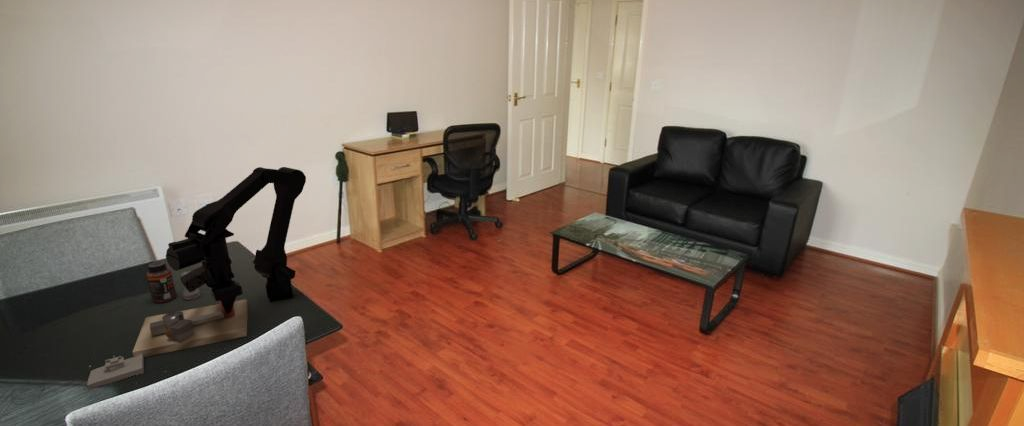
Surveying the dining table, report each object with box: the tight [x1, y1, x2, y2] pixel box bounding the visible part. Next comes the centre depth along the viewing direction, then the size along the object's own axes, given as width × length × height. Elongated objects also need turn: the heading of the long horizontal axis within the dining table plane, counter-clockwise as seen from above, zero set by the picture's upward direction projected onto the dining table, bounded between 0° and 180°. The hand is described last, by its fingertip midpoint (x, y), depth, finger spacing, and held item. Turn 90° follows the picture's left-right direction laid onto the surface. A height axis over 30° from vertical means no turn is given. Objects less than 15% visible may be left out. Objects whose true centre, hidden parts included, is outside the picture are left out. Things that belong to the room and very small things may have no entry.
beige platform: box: [86, 354, 145, 390], centre depth 113 cm, size 12×11×4 cm
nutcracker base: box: [132, 299, 249, 358], centre depth 129 cm, size 24×17×6 cm
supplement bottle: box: [146, 260, 177, 304], centre depth 143 cm, size 6×6×11 cm
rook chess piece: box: [180, 270, 201, 301], centre depth 145 cm, size 4×4×8 cm
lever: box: [150, 301, 235, 336], centre depth 127 cm, size 18×4×7 cm, turn 123°
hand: (226, 309), depth 132 cm, fingers open, 4 cm apart
